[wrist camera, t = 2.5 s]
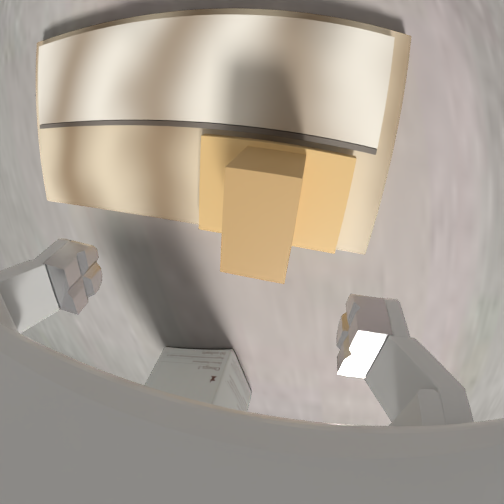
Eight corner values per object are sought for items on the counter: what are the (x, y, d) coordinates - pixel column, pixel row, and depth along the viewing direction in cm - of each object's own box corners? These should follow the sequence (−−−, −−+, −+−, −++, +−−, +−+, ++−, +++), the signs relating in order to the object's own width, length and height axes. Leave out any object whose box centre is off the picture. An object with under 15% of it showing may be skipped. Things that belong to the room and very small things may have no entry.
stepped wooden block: (355, 155, 15) (368, 183, 11) (334, 248, 18) (335, 298, 14) (205, 133, 16) (167, 153, 12) (202, 224, 19) (171, 266, 15)
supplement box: (234, 346, 26) (188, 479, 15) (253, 393, 29) (223, 504, 19) (162, 343, 28) (105, 454, 18) (190, 388, 32) (150, 486, 21)
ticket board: (406, 38, 12) (414, 34, 10) (363, 246, 19) (366, 260, 17) (46, 42, 15) (31, 43, 13) (55, 195, 22) (42, 203, 20)
